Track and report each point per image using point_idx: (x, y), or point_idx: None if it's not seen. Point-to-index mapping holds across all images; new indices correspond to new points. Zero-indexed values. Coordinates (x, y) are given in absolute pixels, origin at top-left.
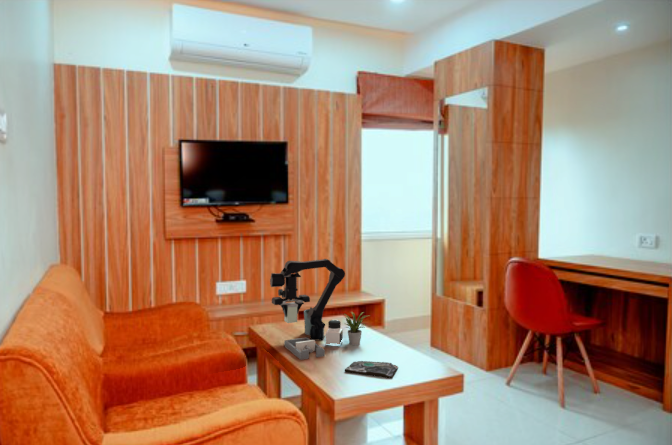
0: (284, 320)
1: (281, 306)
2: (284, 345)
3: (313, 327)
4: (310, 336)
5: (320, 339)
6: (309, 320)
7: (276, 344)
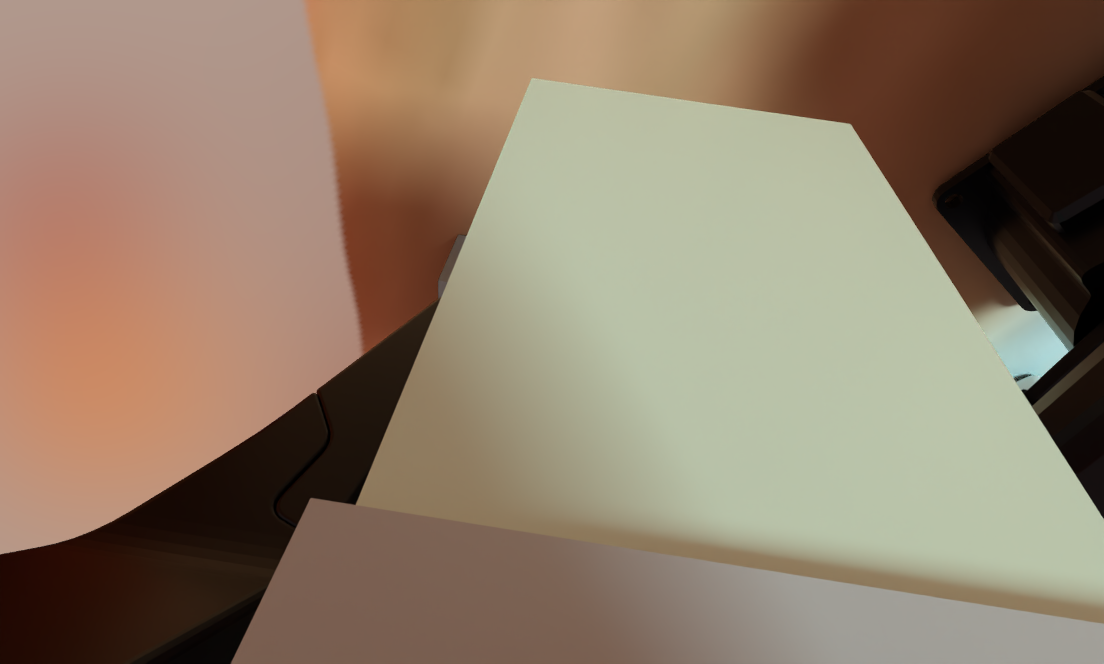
0: (529, 88)
1: (102, 554)
2: (455, 241)
3: (1086, 316)
4: (995, 167)
5: (1013, 297)
6: (1061, 431)
7: (383, 106)
